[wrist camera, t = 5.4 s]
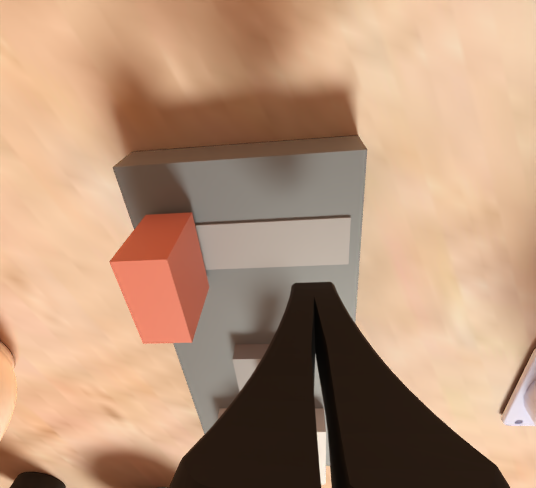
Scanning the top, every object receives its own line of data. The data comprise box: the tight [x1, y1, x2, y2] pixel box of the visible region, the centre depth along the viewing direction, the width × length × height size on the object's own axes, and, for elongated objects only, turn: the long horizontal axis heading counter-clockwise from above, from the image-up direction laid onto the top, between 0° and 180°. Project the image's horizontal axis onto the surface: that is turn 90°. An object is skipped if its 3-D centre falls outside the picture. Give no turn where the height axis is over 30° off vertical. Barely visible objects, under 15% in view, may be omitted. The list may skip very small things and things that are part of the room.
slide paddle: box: [110, 212, 209, 344], centre depth 14 cm, size 2×4×3 cm, turn 5°
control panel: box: [113, 135, 367, 484], centre depth 20 cm, size 10×24×4 cm, turn 5°
